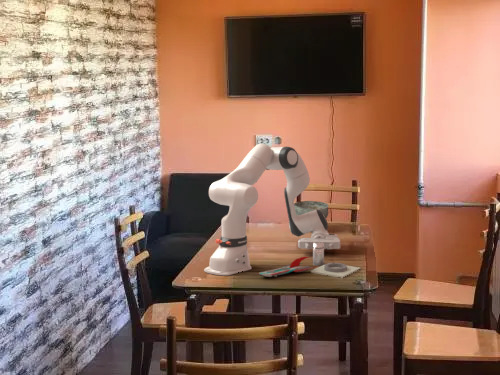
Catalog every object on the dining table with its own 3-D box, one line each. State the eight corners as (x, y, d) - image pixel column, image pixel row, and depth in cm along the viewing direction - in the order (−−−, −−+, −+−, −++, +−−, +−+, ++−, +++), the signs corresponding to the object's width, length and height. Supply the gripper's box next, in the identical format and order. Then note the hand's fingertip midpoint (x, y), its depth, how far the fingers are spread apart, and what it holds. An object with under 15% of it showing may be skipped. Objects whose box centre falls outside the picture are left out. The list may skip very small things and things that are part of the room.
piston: (320, 266, 329) (320, 245, 327) (310, 264, 332) (310, 243, 330) (326, 263, 333) (326, 242, 331) (316, 262, 336) (316, 241, 334)
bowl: (319, 236, 386) (319, 208, 384) (287, 232, 396) (287, 205, 394) (335, 228, 403) (335, 202, 400) (304, 225, 413) (304, 199, 410)
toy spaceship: (270, 285, 305) (268, 273, 304) (253, 281, 314) (251, 269, 313) (317, 268, 322) (315, 256, 321) (300, 264, 331) (298, 253, 330)
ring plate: (342, 278, 310) (342, 273, 310) (310, 272, 320) (310, 267, 319) (360, 269, 323) (360, 264, 322) (329, 264, 332) (329, 259, 332)
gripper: (298, 234, 355) (296, 240, 341) (340, 234, 352) (340, 241, 339) (298, 246, 356) (296, 253, 342) (340, 247, 354) (340, 254, 340)
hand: (318, 247), depth 341 cm, fingers open, 8 cm apart
